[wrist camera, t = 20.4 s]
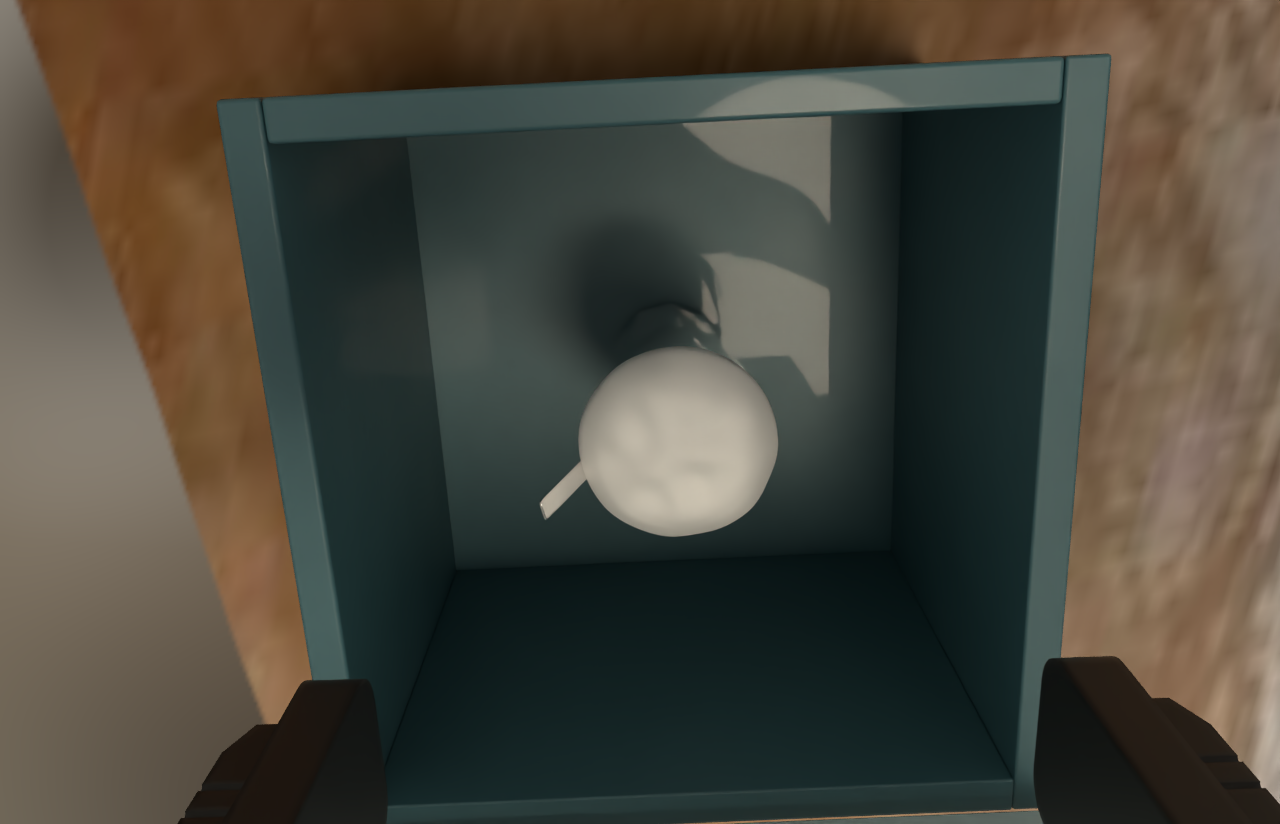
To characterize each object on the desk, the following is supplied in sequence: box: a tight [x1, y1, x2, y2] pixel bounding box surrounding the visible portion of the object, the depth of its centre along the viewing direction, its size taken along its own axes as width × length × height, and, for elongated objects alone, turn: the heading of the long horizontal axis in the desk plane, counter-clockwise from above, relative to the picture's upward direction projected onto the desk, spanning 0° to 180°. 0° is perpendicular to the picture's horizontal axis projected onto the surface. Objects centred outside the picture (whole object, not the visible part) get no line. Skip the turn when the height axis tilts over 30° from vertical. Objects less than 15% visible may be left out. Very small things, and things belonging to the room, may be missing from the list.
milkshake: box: [539, 303, 778, 537], centre depth 27 cm, size 4×5×10 cm
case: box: [217, 54, 1111, 824], centre depth 26 cm, size 16×16×12 cm
